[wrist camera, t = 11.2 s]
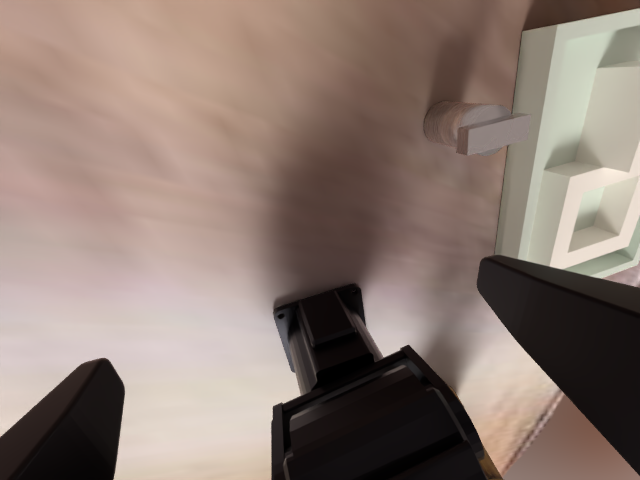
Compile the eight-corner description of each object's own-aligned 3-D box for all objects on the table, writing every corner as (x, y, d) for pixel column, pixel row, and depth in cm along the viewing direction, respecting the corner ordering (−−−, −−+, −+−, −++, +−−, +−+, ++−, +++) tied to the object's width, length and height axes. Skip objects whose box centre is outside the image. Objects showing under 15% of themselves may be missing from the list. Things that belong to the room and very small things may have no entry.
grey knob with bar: (460, 137, 20) (525, 151, 16) (412, 149, 19) (466, 167, 15) (462, 96, 19) (533, 100, 14) (411, 108, 18) (469, 116, 14)
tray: (611, 253, 30) (637, 265, 28) (489, 296, 28) (508, 312, 26) (699, -5, 20) (749, -14, 18) (522, 31, 18) (557, 25, 16)
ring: (602, 236, 27) (649, 254, 24) (526, 261, 26) (565, 285, 23) (660, 53, 20) (736, 48, 17) (560, 76, 19) (623, 74, 16)
